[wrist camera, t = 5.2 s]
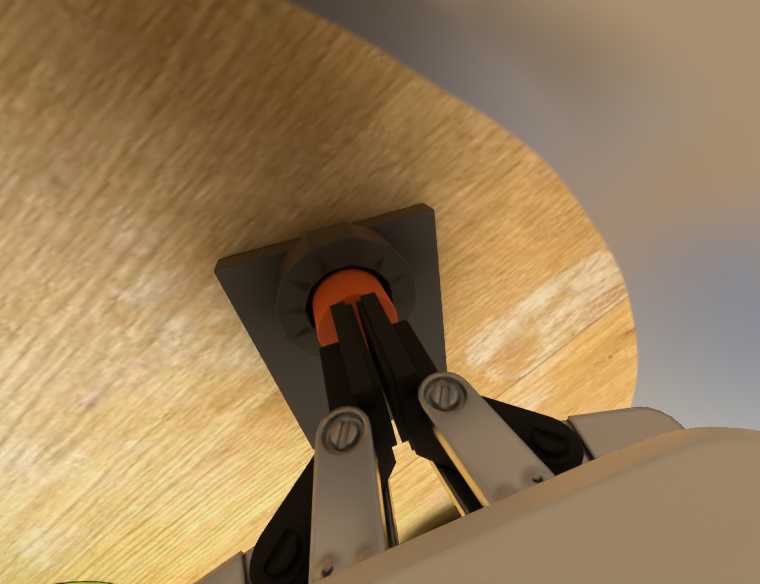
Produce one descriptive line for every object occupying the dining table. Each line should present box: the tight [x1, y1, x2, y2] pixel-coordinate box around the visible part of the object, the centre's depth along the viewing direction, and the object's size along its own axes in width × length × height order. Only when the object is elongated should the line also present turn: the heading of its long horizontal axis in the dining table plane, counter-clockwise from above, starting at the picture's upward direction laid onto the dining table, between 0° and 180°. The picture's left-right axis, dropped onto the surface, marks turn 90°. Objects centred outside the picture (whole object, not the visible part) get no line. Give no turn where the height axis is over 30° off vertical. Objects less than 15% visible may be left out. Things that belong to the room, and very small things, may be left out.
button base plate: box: [214, 203, 447, 449], centre depth 17 cm, size 14×10×3 cm
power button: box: [312, 269, 398, 350], centre depth 13 cm, size 3×3×2 cm
